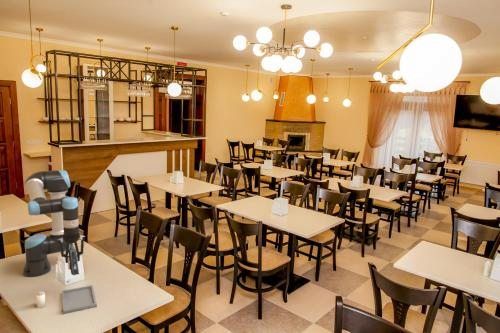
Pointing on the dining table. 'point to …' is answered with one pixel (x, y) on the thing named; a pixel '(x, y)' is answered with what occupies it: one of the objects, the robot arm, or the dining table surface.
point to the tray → (78, 299)
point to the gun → (73, 260)
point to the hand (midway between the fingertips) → (73, 267)
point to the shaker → (40, 299)
